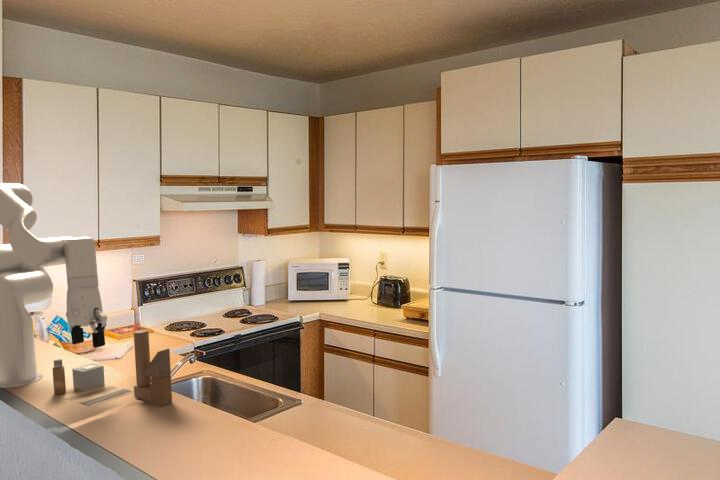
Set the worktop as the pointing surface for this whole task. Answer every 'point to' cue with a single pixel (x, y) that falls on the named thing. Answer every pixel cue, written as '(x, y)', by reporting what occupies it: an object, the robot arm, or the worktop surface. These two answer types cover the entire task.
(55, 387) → the grey-capped wooden cylinder
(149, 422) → the worktop surface
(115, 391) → the panel
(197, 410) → the worktop surface
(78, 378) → the block
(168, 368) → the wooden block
